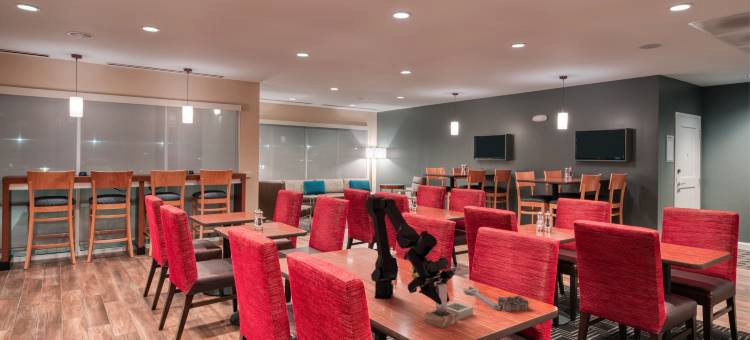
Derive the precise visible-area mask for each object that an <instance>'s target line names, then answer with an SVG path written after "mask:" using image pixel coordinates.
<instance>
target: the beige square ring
mask: <svg viewBox="0 0 750 340" xmlns="http://www.w3.org/2000/svg"><path fill="white" fill-rule="evenodd" d="M424 322H425V323H427V324H429V325H432V326H435V327H438V328H440V329H443V328H447V327H448V326H452V325H455V324H457V323H458V313H455V312H452V311H449V310H447V315H446V316H444V317H441V316H438V315H436V308H435V309H432V310H430V311H427V312H424Z"/></svg>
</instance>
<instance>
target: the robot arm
mask: <svg viewBox="0 0 750 340" xmlns="http://www.w3.org/2000/svg"><path fill="white" fill-rule="evenodd" d="M365 208H366V211H367V212H366V213H367V214H368V216H369V217H370V218H371V219H372V224H373V230H374V237H375V245H376V251H377V258H376V260H375V263H374V267H375V269H374V270H373V271H372V272H371V274H370V277H371V281H373V282H374V283H375V284H374V287H375V289H374V299H375V298H377V299H388V300H389V299H390V300H391V299H392V297H393V295H394V283H393V281H397V276H398V274H399V266H398V260H397V258H396V257H394V256H393V255H392V254H391V248H390V241H389V237H388V229H387V222H386V216H387V218H388V220H389V222H390V223H391V226H392V227H393V228H394V230H395V233H396V234H395V240H396V243H397V244H398V247H399V248H400V249H401V250H402V249H403V250H406V249H408V250H407V251H404V256H403V260H404V261H406V260H408V261H409V262H410V264H411V267H414V269H415V270H414V271H413V272H414V274H415V273H417V274H418V276H419V277H414V278H413V279H412V280H411V281H410V282H409V283H408V284H407V290H408V292H409V294H414V293H416V292H417V291H418V289H417V288H419V289H420V290H419V291H418V293H419V294H422V295H424V296H425V297H428V298H429V299H430V300H432V301H433V302H435V304H436V303H438V304H439V305H441V304H442V302H441V299H440V297H439V296H438V294H437V292H436V284H437V283H446V284H447V282H449V281H450V280H451V279H452V278H454V276H455V273H454V271H453V270H452V269H449V268H448V266H449V263H450V262H449V260H448V259H447V257H446V256H442V257H439V258H438V260H436V261H433V260H432V259H430V260H429V259H428V258H427V256H428V255H430V254H431V253H432V251H433V250H434V249H435V248H436V246H437V245H438V240H437V238H436V237H435V236H434V235H433V234H432V233H429V232H428V230H422V231H421V232H420V234H419V232H417V230H416V229H415V228H414V227H412V226H410V225H409V224H408V223H407V221H406V219H405V217H404V216H403V214H402V213H401V211H400V209H399V207H398V206H397V204H396V200H395V199H394V198H389V197H388V198H386V197H384V196H369V197H368V198H367V200H366V201H365ZM439 273H440V274H439ZM437 274H439V275H438V276H437ZM433 279H434V280H433ZM448 292H449V291H447V303H449V302H450V296H449V293H448Z"/></svg>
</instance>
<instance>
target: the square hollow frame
mask: <svg viewBox="0 0 750 340" xmlns="http://www.w3.org/2000/svg"><path fill="white" fill-rule="evenodd" d="M447 310H449V311H452V312H455V313H458V319H457V321H459V320H461V319H464V318H467V317H470V316H472V315H473V314H474V306H470V305H467V304H464V303H461V302H457V301H452V302H450V303H449V302H448V303H447Z"/></svg>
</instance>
